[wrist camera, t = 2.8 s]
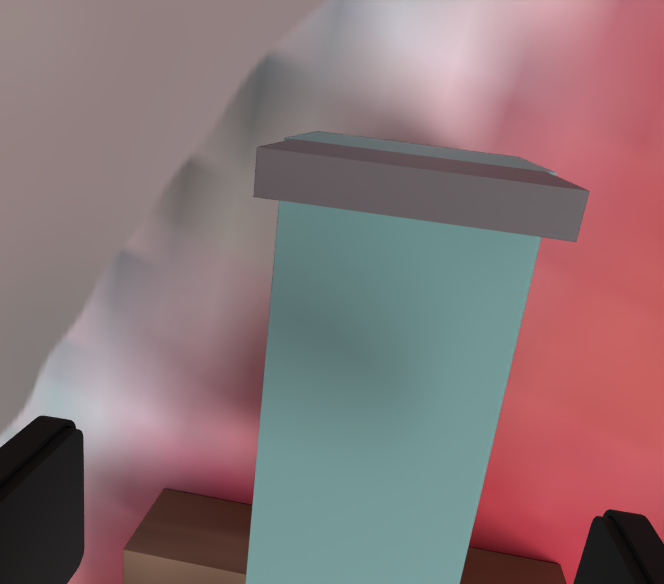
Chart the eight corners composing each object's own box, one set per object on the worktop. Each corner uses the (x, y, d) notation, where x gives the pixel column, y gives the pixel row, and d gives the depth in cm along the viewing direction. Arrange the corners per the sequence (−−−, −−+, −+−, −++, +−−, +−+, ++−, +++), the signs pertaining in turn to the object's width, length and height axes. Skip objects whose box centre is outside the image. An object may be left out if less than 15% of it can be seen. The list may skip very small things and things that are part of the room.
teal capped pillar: (329, 129, 18) (244, 145, 9) (505, 151, 18) (602, 193, 9) (294, 448, 22) (208, 688, 13) (438, 474, 22) (457, 744, 12)
